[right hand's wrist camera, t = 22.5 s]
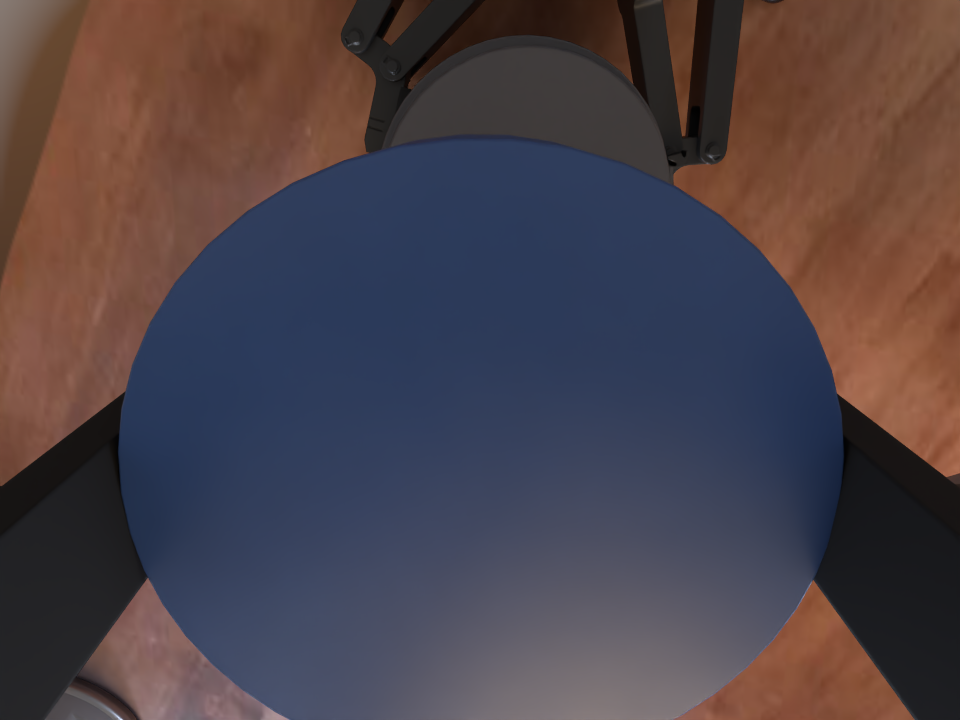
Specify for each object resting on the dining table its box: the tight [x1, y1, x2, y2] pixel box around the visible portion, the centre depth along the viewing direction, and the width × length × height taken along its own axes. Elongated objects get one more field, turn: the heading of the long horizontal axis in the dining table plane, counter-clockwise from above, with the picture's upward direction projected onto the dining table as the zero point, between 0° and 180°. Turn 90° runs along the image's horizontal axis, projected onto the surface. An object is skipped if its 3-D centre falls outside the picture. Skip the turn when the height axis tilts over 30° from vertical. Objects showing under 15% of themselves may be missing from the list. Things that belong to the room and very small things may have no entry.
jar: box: [382, 35, 673, 185], centre depth 28 cm, size 10×10×17 cm
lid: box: [118, 134, 844, 720], centre depth 11 cm, size 11×11×2 cm
